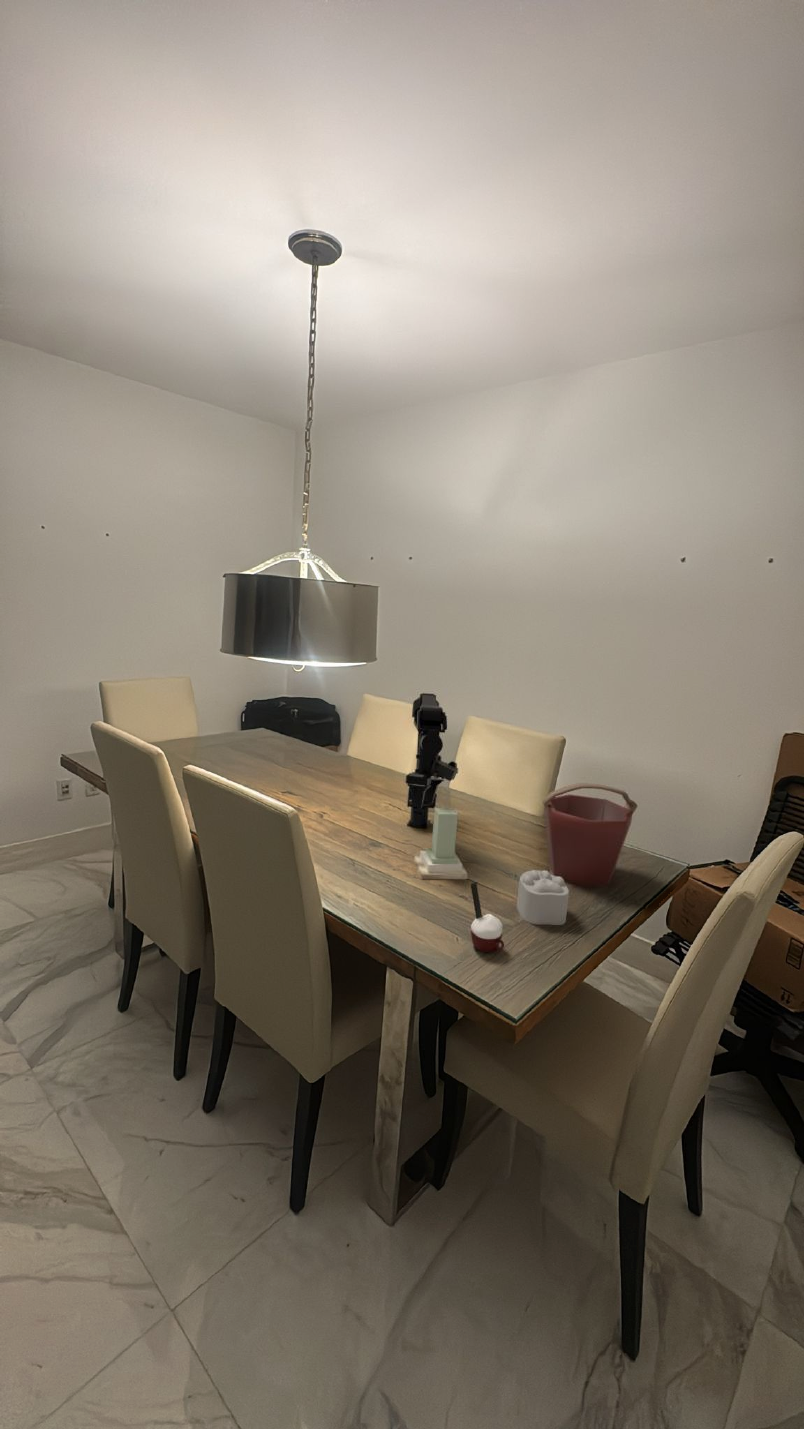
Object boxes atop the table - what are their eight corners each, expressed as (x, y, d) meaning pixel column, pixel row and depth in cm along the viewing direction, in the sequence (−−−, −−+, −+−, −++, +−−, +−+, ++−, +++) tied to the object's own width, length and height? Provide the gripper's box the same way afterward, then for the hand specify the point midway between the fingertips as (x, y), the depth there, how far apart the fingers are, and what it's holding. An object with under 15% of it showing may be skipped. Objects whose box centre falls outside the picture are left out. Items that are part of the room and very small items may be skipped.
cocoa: (507, 958, 121) (516, 904, 119) (478, 961, 119) (487, 906, 117) (486, 932, 130) (495, 881, 128) (460, 934, 128) (468, 882, 126)
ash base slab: (413, 862, 165) (414, 855, 165) (456, 862, 167) (457, 855, 167) (421, 881, 154) (421, 874, 153) (467, 881, 155) (467, 874, 155)
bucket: (625, 866, 170) (637, 781, 166) (633, 900, 149) (646, 804, 145) (537, 851, 177) (546, 769, 172) (532, 882, 156) (543, 789, 151)
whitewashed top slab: (419, 857, 164) (420, 850, 163) (451, 857, 165) (452, 850, 165) (428, 872, 155) (428, 865, 155) (461, 871, 157) (462, 864, 156)
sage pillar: (426, 852, 162) (430, 806, 160) (451, 852, 164) (455, 806, 161) (432, 863, 156) (436, 815, 153) (458, 863, 157) (462, 815, 155)
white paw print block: (524, 924, 135) (528, 888, 133) (511, 896, 147) (514, 863, 146) (570, 925, 135) (574, 889, 134) (552, 898, 148) (556, 865, 147)
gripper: (446, 757, 159) (442, 815, 160) (465, 751, 176) (461, 804, 177) (406, 752, 163) (402, 810, 164) (429, 748, 180) (425, 799, 181)
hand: (424, 806), depth 171 cm, fingers open, 9 cm apart
